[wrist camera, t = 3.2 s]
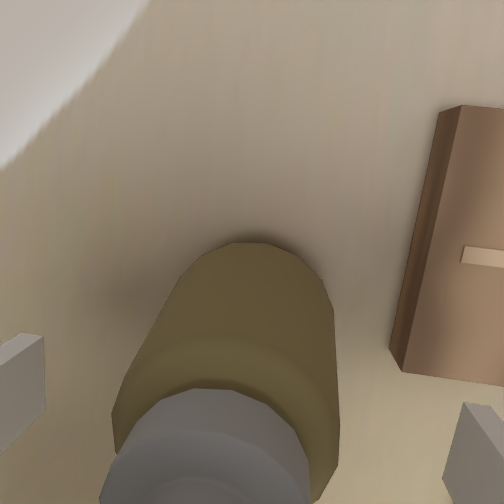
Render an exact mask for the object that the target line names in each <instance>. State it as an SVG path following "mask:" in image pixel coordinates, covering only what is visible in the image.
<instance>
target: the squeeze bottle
mask: <svg viewBox="0 0 504 504" xmlns="http://www.w3.org/2000/svg"><path fill="white" fill-rule="evenodd" d="M111 414H112V424H113V434H114V443H115V452H116V454H117V456H116V458H115V460H114V461H113V463H112V465H111V467H110V469H109V472H108V475H107V478H106V480H105V483H104V486H103V488H102V491H101V494H100V496H99V501H100V504H313V503H314V502H316V501H317V500H319V498H320V496H321V495H322V493H323V491H324V489H325V487H326V486H327V484H328V482H329V480H330V479H331V477H332V475H333V473H334V471H335V470H336V468H337V466H338V456H339V435H340V416H339V398H338V380H337V363H336V345H335V327H334V310H333V307H332V305H331V302H330V300H329V297H328V295H327V292H326V290H325V287H324V285H323V282H322V280H321V279H320V278H319V277H318V276H317V275H316V274H315V273H314V272H313V271H312V270H311V269H310V268H309V267H308V266H307V265H306V264H305V263H304V262H303V261H302V260H301V259H300V258H299V257H298V256H296V255H294V254H291V253H289V252H286V251H284V250H282V249H279V248H277V247H274V246H272V245H270V244H267V243H231V244H228V245H226V246H223V247H221V248H218V249H216V250H213V251H211V252H209V253H206V254H204V255H202V256H201V257H200V258H199V259H198V260H197V261H196V262H195V263H194V264H193V265H192V266H191V267H190V268H189V269H188V270H187V271H186V272H185V273H184V274H183V275H182V276H181V277H180V279H179V280H178V282H177V284H176V286H175V288H174V289H173V291H172V293H171V295H170V296H169V298H168V300H167V302H166V304H165V305H164V307H163V309H162V311H161V313H160V314H159V316H158V318H157V320H156V321H155V323H154V325H153V327H152V329H151V330H150V332H149V334H148V336H147V337H146V339H145V341H144V343H143V345H142V346H141V348H140V350H139V352H138V354H137V355H136V357H135V359H134V361H133V362H132V364H131V366H130V368H129V370H128V371H127V373H126V375H125V377H124V380H123V382H122V385H121V388H120V391H119V393H118V396H117V399H116V402H115V405H114V407H113V410H112V413H111Z"/></svg>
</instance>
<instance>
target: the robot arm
mask: <svg viewBox="0 0 504 504" xmlns="http://www.w3.org/2000/svg"><path fill="white" fill-rule="evenodd" d="M44 411H45V374H44V336H41V335H34V334H28V333H22V332H21V333H19V334H18V335H16V336H15V337H13V338H11V339H10V340H8V341H7V342H5V343H3V344H2V345H0V455H1V454H2V453H3V452H4V451H5V450H6V449H7V448H8V447H9V446H10V445H11V444H12V443H13V442H14V441H15V440H16V439H17V438H18V437H19V436H20V435H21V434H22V433H23V432H24V431H25V430H26V429H27V428H28V427H29V426H30V425H31V424H32V423H33V422H34V421H35V420H36V419H37V418H38V417H39V416H40V415H41V414H42V413H43V412H44ZM442 479H443V482H444V484H445V486H446V488H447V490H448V492H449V494H450V496H451V499H452V501H453V503H454V504H504V422H503V421H502V420H501V419H500V417H499V416H498V415H497V414H496V412H495V411H494V410H493V409H492V408H491V406H487V405H480V404H474V403H467V402H463V405H462V409H461V412H460V416H459V420H458V423H457V427H456V430H455V434H454V437H453V441H452V445H451V448H450V452H449V455H448V459H447V462H446V466H445V470H444V473H443V477H442Z"/></svg>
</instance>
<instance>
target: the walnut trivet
mask: <svg viewBox="0 0 504 504" xmlns="http://www.w3.org/2000/svg"><path fill="white" fill-rule="evenodd" d="M389 350H390V352H391V353H392V355H393V357H394V359H395V361H396V362H397V364H398V366H399V368H400V370H401V371H402V372H407V373H413V374H420V375H427V376H434V377H441V378H448V379H454V380H461V381H468V382H475V383H482V384H489V385H495V386H502V387H504V109H498V108H488V107H478V106H468V105H460V106H457V107H455V108H452V109H449V110H446V111H443V112H440V113H439V118H438V122H437V127H436V132H435V136H434V141H433V146H432V150H431V155H430V160H429V164H428V169H427V174H426V178H425V183H424V188H423V192H422V197H421V202H420V206H419V211H418V216H417V220H416V225H415V230H414V234H413V239H412V244H411V248H410V253H409V258H408V262H407V267H406V272H405V276H404V281H403V286H402V290H401V295H400V300H399V304H398V309H397V314H396V318H395V323H394V328H393V332H392V337H391V342H390V346H389Z"/></svg>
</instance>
